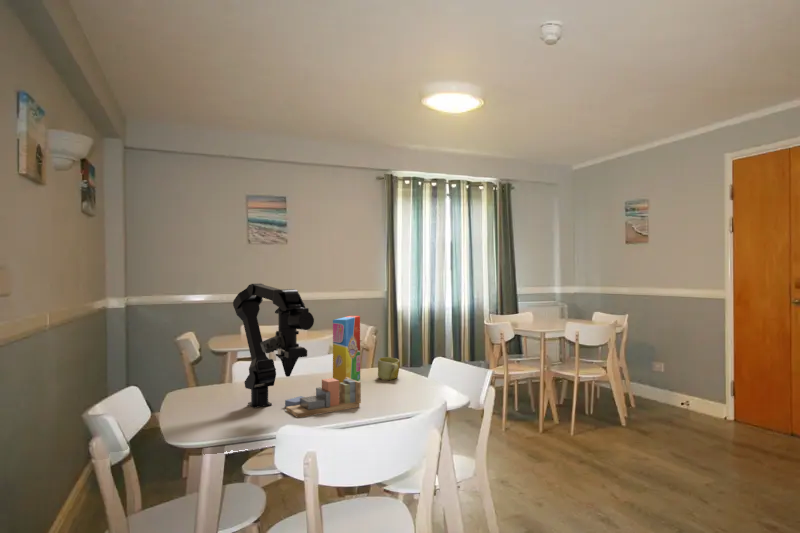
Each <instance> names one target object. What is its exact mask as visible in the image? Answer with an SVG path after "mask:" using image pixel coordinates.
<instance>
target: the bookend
mask: <svg viewBox="0 0 800 533" xmlns="http://www.w3.org/2000/svg"><path fill="white" fill-rule="evenodd" d="M302 397H303V398H300V406H302V407H303V408H305V409H307V410H313V409H319V408H325V407H326V408H327V407H330V391H327V390H325V389H323V388H322V386H321V387H319V386H318V387H316V388H315V395H311V396H302Z"/></svg>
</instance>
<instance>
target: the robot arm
mask: <svg viewBox="0 0 800 533" xmlns="http://www.w3.org/2000/svg"><path fill="white" fill-rule="evenodd" d="M263 299H266V300H269V301H272V303H273V305H275V306H276V307H277V309H275V311H274V314H277V315H278V316H277V318H278V319H277V320H278V322H277V323H278V324H277V326H278V329H277V330H276V332H275V335H274V336H272V337H270V338H268V339H265V340H263V337H262V333H261V328H260V325H259V321H258V316H259V313H260V305H261V304H262V302H263ZM232 306H233V308H234V312H235V314H236V316H237V317H238V318H239V319H240V320H241V321H242V323H243V327H244V333H245V337H246V341H247V346H248V350H249V353H250V358H251V361H250V364H249V367H248V373H249V374H248V375H247V377H246V378H245V380H244V388H245V389H248V390H250V402H247V404H248V406H250V407H251V408H253V409H255V408H256V409H257V408H261V407H267V406H272V402H270V401H269V387H274V385H275V382H276V381H275V380H276V377H277V371H276V370H277V369H276V367H275V360H274V359H273V358H269V357H268V356H267V354H269V353H274V352H275V351H276V352H277V353H275V354H274V356H276V357H277V358H278V359H280V361H281V364H282V368H283V372H284V374H285V376H286V378H287V377H288V378H289V377H290V376H291V375H292V372H293V370H294V368H295V365H296V363H297V361H298V359H299V358H307V357H308V350H307V348H305V347H303V346H299V345H300V344H299V343H297V336H298V335H299V334H300V331H299V330H301V331H302V330H303V331H308V330H310V329H312V328H313V326H314V323H315V317H314V316H313V314H312V313H311V312H310V310H309V309H310V308H308V307H306V304H305V303H304V302H303V300H302V297H301V295H300V293H299V290H297V289H296V288H289V289H288V288H287V289H284V288H283V289H282V288H281V289H280V288H277V287H272V286H269V285H266V284H264V283H250V284H249V285H248V286H247V287H246V288H245V289H243V290H242V291H240V292H238V294H237V295H236V297H235V298H234V299H233V301H232Z"/></svg>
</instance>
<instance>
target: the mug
mask: <svg viewBox="0 0 800 533" xmlns="http://www.w3.org/2000/svg"><path fill="white" fill-rule="evenodd" d="M400 365H401V364H400V359H398V358H397V357H395V358H394V357H391V356H384V357H379V358H378V360H377V370H378V371H377V378H378V379H381V380H383V381H384V380H385V381H388V380H389V381H390V380H395V379H397V378H398V377H399V371H400Z"/></svg>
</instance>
